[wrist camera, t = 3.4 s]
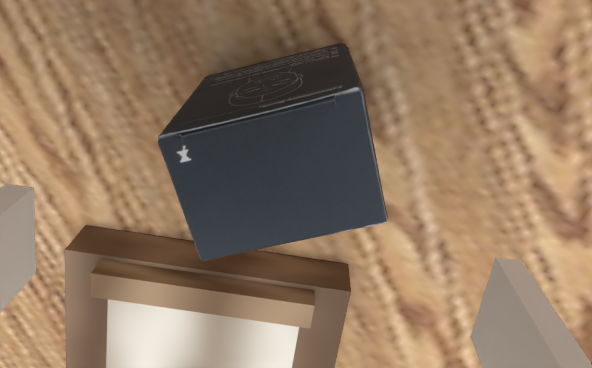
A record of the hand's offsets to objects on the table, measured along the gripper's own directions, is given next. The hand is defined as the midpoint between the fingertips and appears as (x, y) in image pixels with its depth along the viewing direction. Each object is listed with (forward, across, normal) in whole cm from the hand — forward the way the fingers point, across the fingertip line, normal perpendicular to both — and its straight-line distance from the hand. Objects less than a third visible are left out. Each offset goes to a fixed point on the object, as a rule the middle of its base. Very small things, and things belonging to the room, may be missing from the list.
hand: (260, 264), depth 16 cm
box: (+16, 0, 0) cm, 16 cm away
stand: (+16, -3, -16) cm, 23 cm away
